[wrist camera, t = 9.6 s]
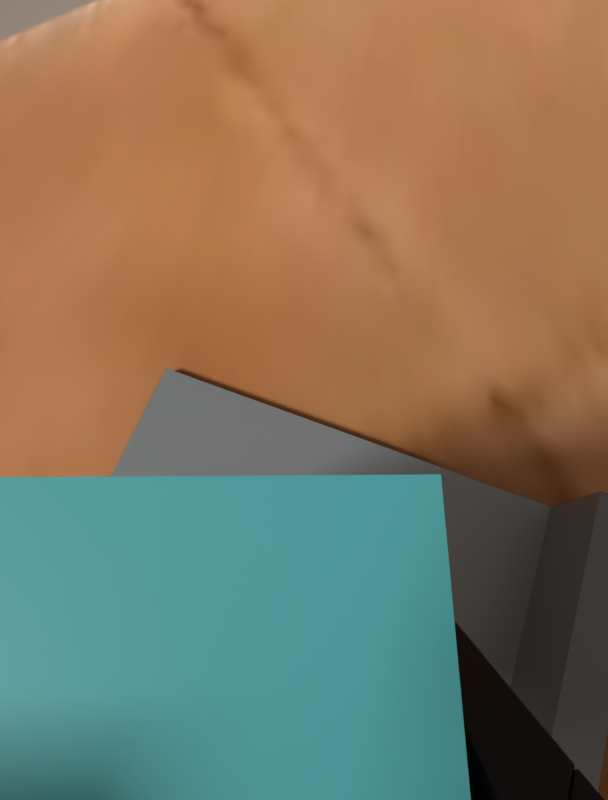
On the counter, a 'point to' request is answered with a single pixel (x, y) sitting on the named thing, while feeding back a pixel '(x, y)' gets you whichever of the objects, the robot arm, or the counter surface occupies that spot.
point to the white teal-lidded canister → (228, 639)
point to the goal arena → (466, 539)
